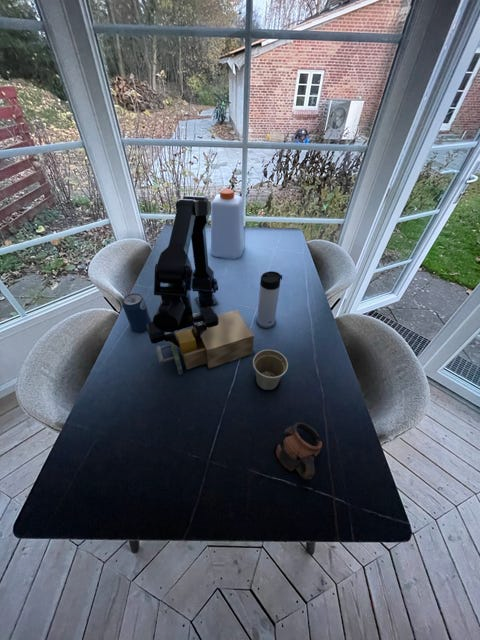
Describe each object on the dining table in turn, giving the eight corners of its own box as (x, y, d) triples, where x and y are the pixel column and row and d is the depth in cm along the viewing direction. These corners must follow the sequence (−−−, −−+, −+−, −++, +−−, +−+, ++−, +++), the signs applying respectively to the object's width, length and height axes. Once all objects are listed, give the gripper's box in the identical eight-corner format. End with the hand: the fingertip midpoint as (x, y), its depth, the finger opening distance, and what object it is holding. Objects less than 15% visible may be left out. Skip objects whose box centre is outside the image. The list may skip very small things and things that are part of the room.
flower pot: (286, 372, 79) (291, 354, 73) (279, 399, 72) (284, 382, 66) (256, 364, 81) (258, 345, 75) (247, 389, 74) (248, 371, 69)
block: (178, 343, 80) (175, 333, 76) (192, 339, 81) (191, 328, 78) (181, 354, 77) (179, 344, 73) (196, 349, 78) (195, 339, 75)
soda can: (156, 323, 93) (148, 296, 85) (142, 335, 89) (132, 308, 80) (141, 316, 95) (132, 289, 87) (126, 328, 91) (116, 301, 83)
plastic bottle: (217, 242, 137) (214, 184, 118) (245, 245, 135) (247, 187, 116) (208, 257, 126) (204, 195, 107) (239, 261, 124) (241, 199, 105)
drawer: (164, 379, 75) (159, 365, 71) (156, 351, 83) (152, 336, 78) (222, 360, 81) (222, 345, 76) (210, 335, 88) (209, 320, 83)
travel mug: (274, 329, 92) (281, 282, 78) (255, 326, 93) (259, 279, 79) (276, 317, 96) (283, 271, 82) (258, 315, 97) (262, 268, 83)
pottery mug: (268, 440, 65) (284, 416, 62) (299, 444, 68) (315, 421, 65) (285, 489, 55) (306, 464, 52) (321, 491, 58) (341, 467, 55)
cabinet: (208, 368, 79) (206, 350, 73) (196, 339, 88) (193, 321, 82) (252, 354, 84) (254, 335, 78) (237, 328, 92) (237, 309, 86)
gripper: (204, 278, 75) (208, 318, 86) (137, 294, 70) (150, 334, 81) (218, 302, 68) (220, 342, 79) (144, 321, 62) (157, 361, 73)
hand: (187, 344), depth 78 cm, fingers closed on block, 4 cm apart
